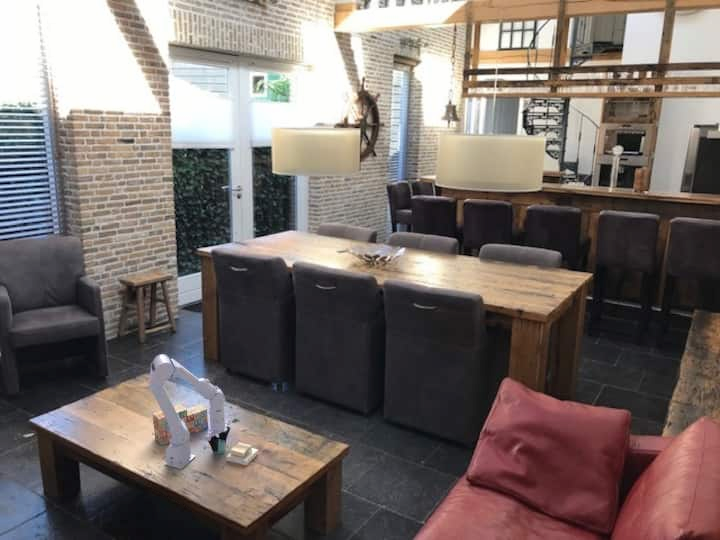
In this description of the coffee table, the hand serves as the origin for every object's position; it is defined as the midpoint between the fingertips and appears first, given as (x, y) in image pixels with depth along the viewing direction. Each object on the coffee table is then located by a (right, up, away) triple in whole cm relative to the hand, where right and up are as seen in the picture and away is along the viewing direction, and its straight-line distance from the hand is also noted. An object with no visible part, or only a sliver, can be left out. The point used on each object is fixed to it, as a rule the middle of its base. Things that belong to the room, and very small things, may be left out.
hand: (219, 447), depth 242 cm
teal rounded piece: (0, -1, 0) cm, 1 cm away
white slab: (+10, -3, -3) cm, 11 cm away
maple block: (+10, -1, -4) cm, 11 cm away
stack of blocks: (-19, +2, +13) cm, 23 cm away
